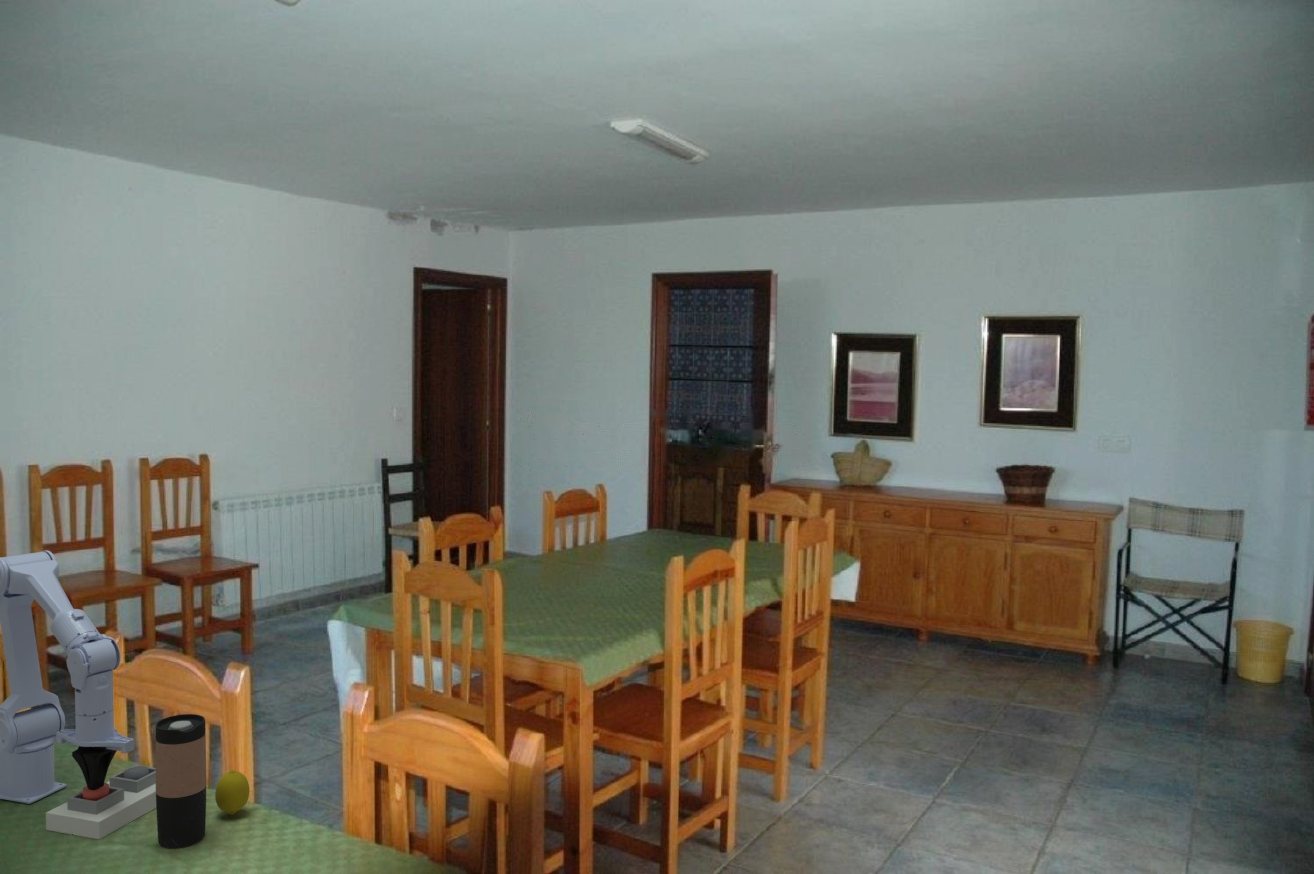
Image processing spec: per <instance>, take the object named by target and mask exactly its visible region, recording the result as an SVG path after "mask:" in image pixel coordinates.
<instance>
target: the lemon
mask: <svg viewBox="0 0 1314 874" xmlns="http://www.w3.org/2000/svg"><path fill="white" fill-rule="evenodd" d="M216 783H217V784H216V787H215V795H214V796H215V798H214V799H215V803H216V806H217V807H218V808H219V809H220V810H221V811H223V812H224V813H228V814H230V815H235V814H236V813H237V812H238V811H241V809H243V808H244V807H245V806H246V805H247V803H248V802H249V801H248V800H249V797H250V784H249V782H248V778H247V777H246V775H245V774H243V772H239V771H236V770H234V769H231V770H229V772H226V773H224V774H223V775H222V776H221V777H220V778H219V779H218V781H217V782H216Z"/></svg>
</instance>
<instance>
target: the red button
mask: <svg viewBox="0 0 1314 874" xmlns="http://www.w3.org/2000/svg"><path fill="white" fill-rule="evenodd" d="M82 791H83V799H86V800H92V801H98V800H100V799H101V798H103V797H105V796H107V795H109V784H107V783H106V782H104V786H102V787H100V788H98V789H97V790H89V789H88V787H87V785H85V786H84V787H83V788H82Z"/></svg>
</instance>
